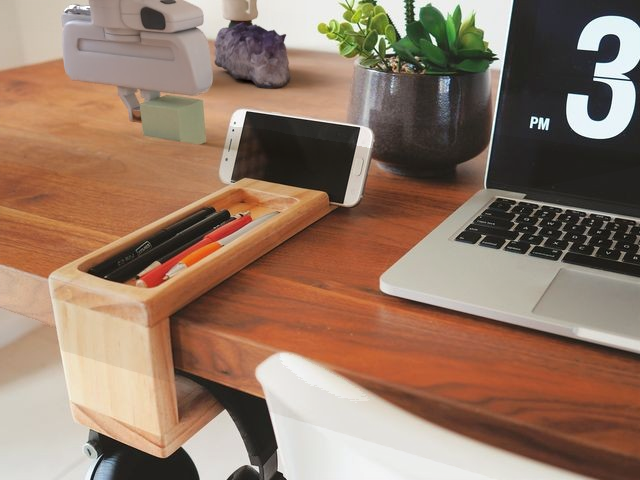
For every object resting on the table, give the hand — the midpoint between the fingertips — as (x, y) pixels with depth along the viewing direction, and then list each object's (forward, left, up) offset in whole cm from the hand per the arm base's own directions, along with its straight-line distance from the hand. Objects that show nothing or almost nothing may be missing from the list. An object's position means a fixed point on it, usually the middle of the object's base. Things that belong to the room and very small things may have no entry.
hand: (142, 122), depth 93 cm
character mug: (-22, +60, -3) cm, 63 cm away
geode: (-7, +41, -2) cm, 41 cm away
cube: (+5, 0, -2) cm, 5 cm away
